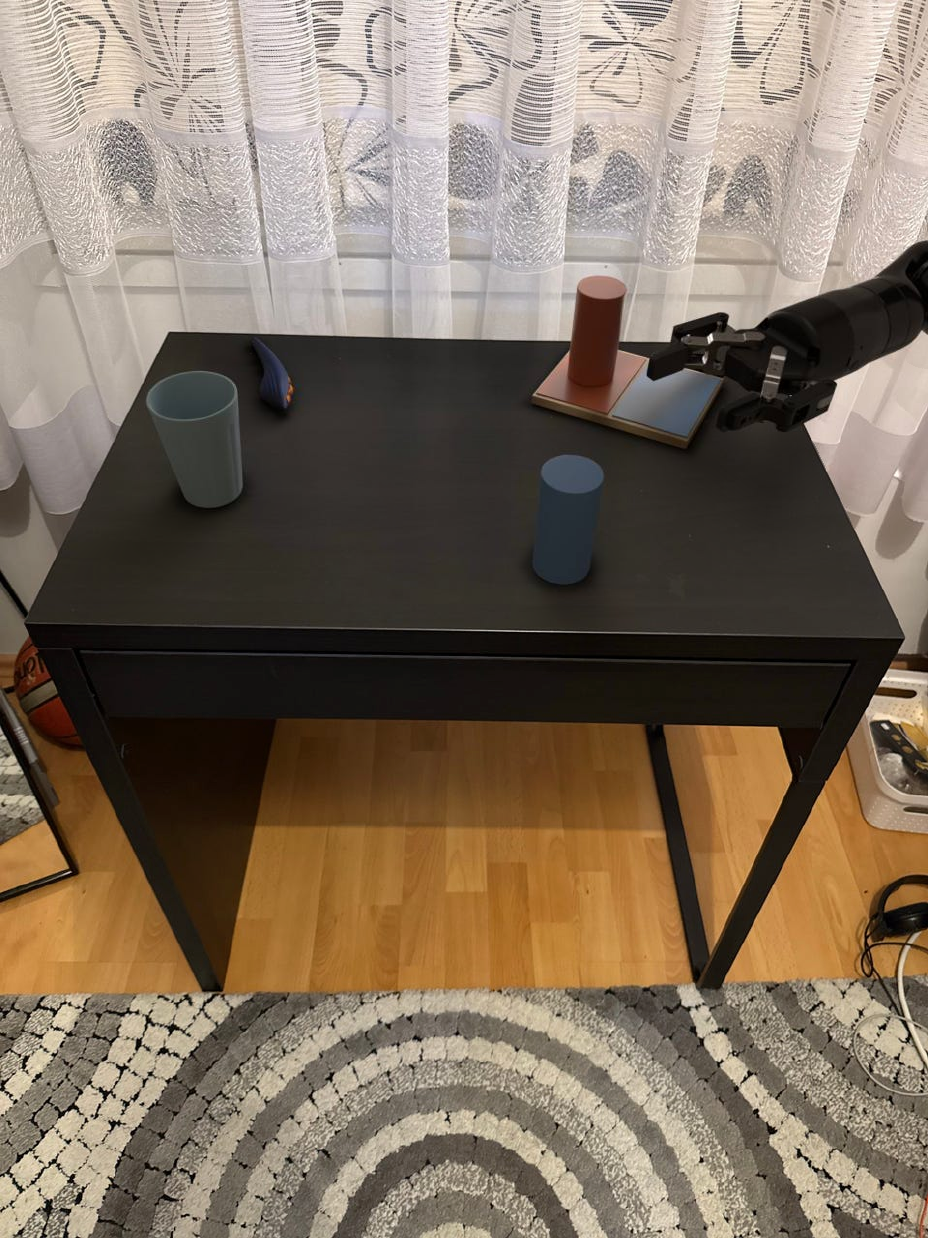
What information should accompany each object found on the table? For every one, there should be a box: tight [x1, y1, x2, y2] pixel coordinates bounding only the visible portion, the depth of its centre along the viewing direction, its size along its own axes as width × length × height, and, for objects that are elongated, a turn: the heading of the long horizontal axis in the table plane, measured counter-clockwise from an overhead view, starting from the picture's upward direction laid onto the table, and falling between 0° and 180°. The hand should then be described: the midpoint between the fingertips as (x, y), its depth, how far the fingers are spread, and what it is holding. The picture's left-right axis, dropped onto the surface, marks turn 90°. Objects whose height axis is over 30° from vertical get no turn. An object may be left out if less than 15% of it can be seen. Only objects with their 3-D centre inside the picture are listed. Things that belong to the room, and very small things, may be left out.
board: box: [531, 349, 725, 450], centre depth 100 cm, size 17×13×1 cm
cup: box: [145, 370, 244, 509], centre depth 84 cm, size 8×8×10 cm
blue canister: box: [531, 454, 605, 585], centre depth 78 cm, size 5×5×10 cm
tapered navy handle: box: [250, 336, 294, 411], centre depth 100 cm, size 16×4×2 cm, turn 20°
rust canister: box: [567, 275, 628, 387], centre depth 97 cm, size 5×5×10 cm
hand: (684, 394), depth 76 cm, fingers open, 8 cm apart
